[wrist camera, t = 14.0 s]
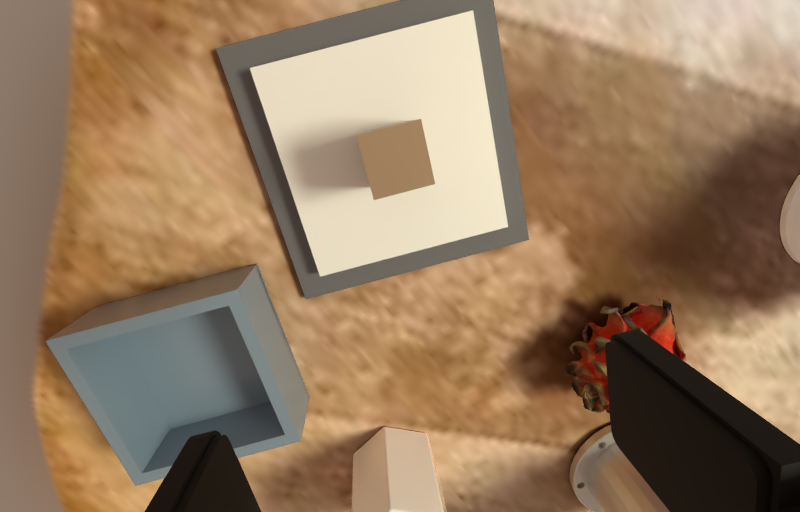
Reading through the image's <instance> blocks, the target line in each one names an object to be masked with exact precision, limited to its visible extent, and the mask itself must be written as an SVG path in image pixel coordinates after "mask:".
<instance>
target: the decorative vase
mask: <svg viewBox="0 0 800 512" xmlns="http://www.w3.org/2000/svg"><path fill="white" fill-rule="evenodd" d="M780 236H781V240H782V243H783V246H784V248H785V250H786V252H787V253H788V254H789V256H790V257H791V258H792V259H794V260H795V261H796V262H798V263H799V264H800V174H799V176H798V177H797V179H796V180H795V182H794V183H793V185H792V186H791V188H790V190H789V192H788V194H787V196H786V199H785V201H784V204H783V208H782V212H781V217H780Z"/></svg>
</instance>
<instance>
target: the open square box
mask: <svg viewBox="0 0 800 512" xmlns="http://www.w3.org/2000/svg"><path fill="white" fill-rule="evenodd" d="M45 342H46V343H47V345H48V346H49V348H50V350H51V351H52V353H53V354H54V356H55V358H56V359H57V361H58V362H59V364H60V366H61V367H62V369H63V370H64V372H65V374H66V375H67V377H68V378H69V380H70V382H71V383H72V385H73V386H74V388H75V390H76V391H77V393H78V394H79V396H80V398H81V399H82V401H83V402H84V404H85V406H86V407H87V409H88V411H89V412H90V414H91V415H92V417H93V419H94V420H95V422H96V423H97V425H98V427H99V428H100V430H101V431H102V433H103V435H104V436H105V438H106V439H107V441H108V443H109V444H110V446H111V447H112V449H113V451H114V452H115V454H116V455H117V457H118V459H119V460H120V462H121V463H122V465H123V467H124V468H125V470H126V471H127V473H128V475H129V476H130V478H131V480H132V481H133V483H134V484H135V486H137V485H141V484H144V483H148V482H152V481H155V480H159V479H163V478H165V477H166V475H167V473H168V472H169V470H170V468H171V467H172V465H173V463H174V462H175V460H176V458H177V457H178V455H179V453H180V452H181V450H182V448H183V447H184V445H185V443H186V441H187V440H188V439H189V438H190V437H191V436H193V435H198V434H202V433H206V432H210V431H214V430H215V431H218V432H220V434H221V435H226V436H227V437H228V438H229V440H230V442H231V445H232V447H233V449H234V451H235V454H236V456H237V458H240V457H244V456H247V455H251V454H255V453H258V452H262V451H266V450H269V449H273V448H277V447H281V446H284V445H288V444H292V443H295V442H299V441H301V438H302V433H303V428H304V422H305V417H306V412H307V407H308V402H309V397H310V396H309V393H308V391H307V388H306V386H305V383H304V381H303V378H302V376H301V373H300V371H299V368H298V365H297V363H296V360H295V358H294V355H293V353H292V350H291V348H290V345H289V343H288V340H287V337H286V335H285V332H284V330H283V327H282V325H281V322H280V320H279V317H278V314H277V312H276V309H275V307H274V304H273V302H272V299H271V297H270V294H269V292H268V289H267V286H266V284H265V281H264V279H263V276H262V274H261V271H260V269H259V266H258V264H254V265H250V266H246V267H242V268H239V269H235V270H231V271H227V272H224V273H220V274H216V275H212V276H209V277H205V278H201V279H197V280H194V281H190V282H186V283H182V284H179V285H175V286H171V287H168V288H164V289H160V290H156V291H153V292H149V293H145V294H141V295H138V296H134V297H130V298H126V299H123V300H119V301H115V302H111V303H108V304H104V305H100V306H97V307H95V308H94V309H92V310H91V311H89V312H88V313H86V314H85V315H83V316H82V317H80V318H79V319H77V320H76V321H74V322H73V323H71V324H70V325H68V326H67V327H65V328H64V329H62V330H61V331H59V332H58V333H56V334H55V335H53V336H52V337H50V338H49V339H47V340H46V341H45Z"/></svg>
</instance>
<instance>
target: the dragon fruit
mask: <svg viewBox="0 0 800 512" xmlns="http://www.w3.org/2000/svg"><path fill="white" fill-rule="evenodd" d="M659 300H660V299H659ZM663 303H664V304H663ZM663 303H662V304H663V307H662V306H655V305H650V306H646V305H645V304H644V303H631V304H630V305H629V307H628V306H625V307H624V308H622V309H620V311H619V312H618V310H619V308H610V307H609V306H608V307H607V305H605V306H603V308H602V309H601V310H600V313H605V314H609V315H608V320H607V324H606V326H605V327H599V326H597V325H596V324H594V323H592V322H590V323H588V324H587V325H585V326H584V330H583V332H582V337H583V338H584V339H583V340H584V342H582V341H577V342H574V343H573V344H571V346H570V347H569V350H570V352H571V353H572V354H573V355H574V351H573V347H574V346H575V347H577V349H578V350H579V354H580V355H581V357H582V358H581V359H580V360H577V361H573V362H571V363H570V364H569V365H568V366H567V367H566V373H569V374H573V375H574V376H575V378H574V380H573V383H572V387H573V389H574V391H575V392H576V393H577V395H578V396H580V397H583V403H584V406H583V407H585V408H586V409H588V410H591V411H594V412H599V413H601V412H603V411H604V410H605V409H606V411H607V413H610V407H609V394H608V380H607V367H606V354H605V345H606V343H607V342H610V339H611V336H612V335H613V334H617V333H621V332H625V331H630V330H634V329H638V330H640V331H642V332H644V333H645V334H646V335H648V336H649V337H651V338H652V339H653V340H655V341H656V342H658V343H659V344H660V345H662V346H663V347H664V348H666V349H667V350H669V351H670V352H671V353H673V354H674V355H676V356H677V357H678V358H680V359H681V360H683V361H685V360H686V355H685V354H684V351H683V349H682V347H681V345H680V342H679V340H678V335H677V334H678V333H677V330H676V327H675V322H674V316H673V314H672V310H671V303H669V302H668V301H666V300H663ZM636 306H638V308H637V309H636V310H635V311H634V312H632V313H631V314H629V315H626V316H625V317H624V318H622V316H621V314H624V313H626V312H628V311H630V310H631V309H633V308H634V307H636ZM621 311H623V313H621V314H620V312H621ZM590 328H591V329H592V337H591V339H590V341H589V342H588V339H589V338H588V331H589V329H590ZM585 408H584V409H585Z"/></svg>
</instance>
